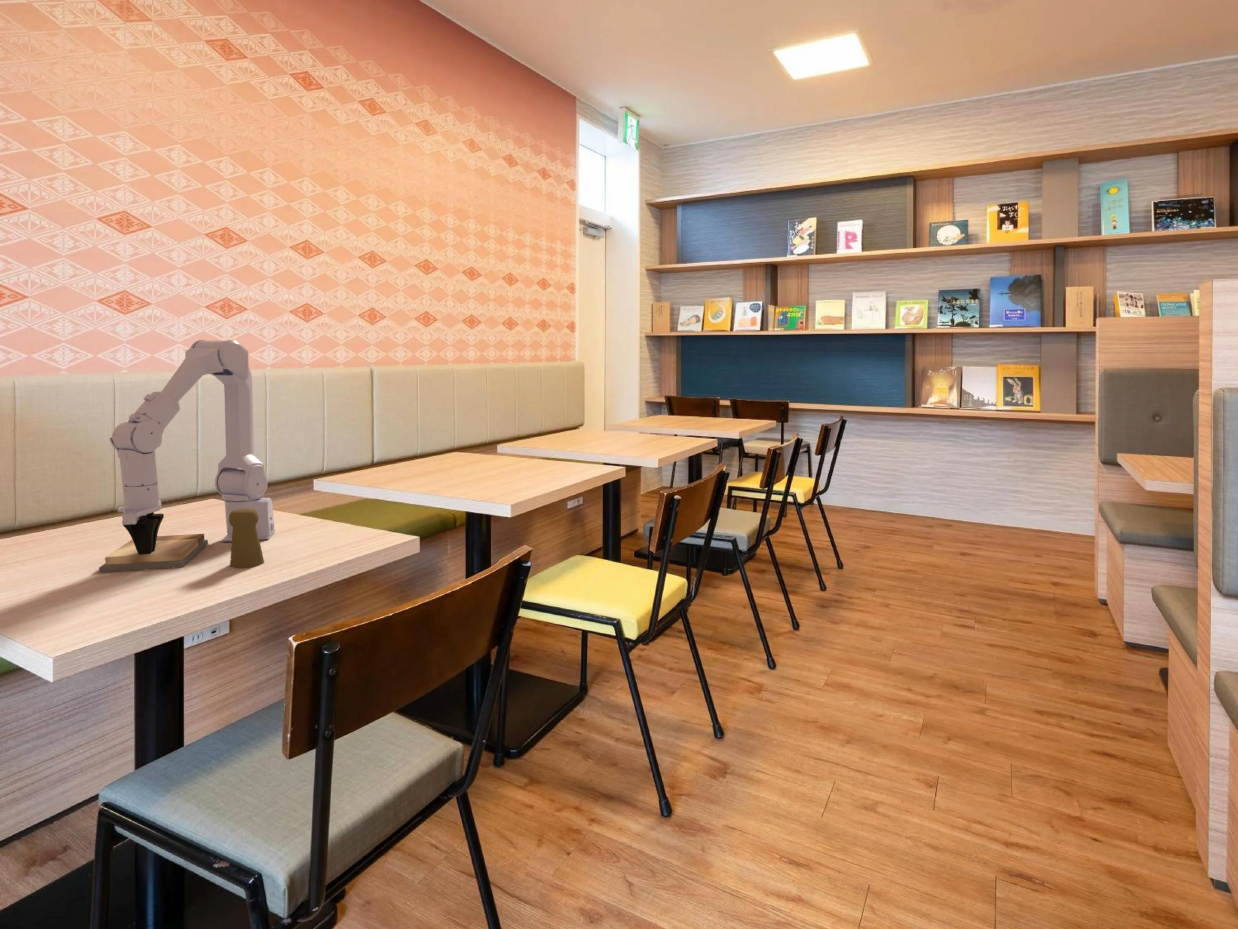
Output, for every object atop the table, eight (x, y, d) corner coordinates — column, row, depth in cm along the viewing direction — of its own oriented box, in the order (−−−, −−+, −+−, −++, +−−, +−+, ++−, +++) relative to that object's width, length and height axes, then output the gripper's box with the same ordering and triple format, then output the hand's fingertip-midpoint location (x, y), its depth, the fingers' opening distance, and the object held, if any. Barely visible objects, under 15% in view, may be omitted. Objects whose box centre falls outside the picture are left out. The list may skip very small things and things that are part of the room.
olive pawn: (240, 559, 146) (236, 505, 144) (270, 559, 146) (266, 506, 144) (223, 568, 140) (219, 512, 138) (254, 568, 140) (250, 512, 138)
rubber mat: (208, 544, 158) (207, 539, 157) (182, 567, 140) (182, 562, 140) (134, 548, 154) (134, 543, 154) (99, 572, 137) (98, 567, 137)
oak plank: (198, 545, 152) (197, 538, 152) (182, 560, 142) (181, 552, 142) (127, 549, 149) (126, 542, 149) (105, 564, 138) (104, 557, 138)
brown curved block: (204, 540, 157) (204, 533, 157) (198, 545, 153) (198, 538, 152) (136, 544, 153) (135, 537, 153) (128, 549, 149) (127, 542, 149)
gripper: (130, 479, 145) (136, 545, 147) (100, 491, 131) (107, 564, 133) (170, 477, 147) (175, 542, 149) (144, 490, 133) (151, 561, 135)
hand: (146, 552), depth 141 cm, fingers closed on oak plank
